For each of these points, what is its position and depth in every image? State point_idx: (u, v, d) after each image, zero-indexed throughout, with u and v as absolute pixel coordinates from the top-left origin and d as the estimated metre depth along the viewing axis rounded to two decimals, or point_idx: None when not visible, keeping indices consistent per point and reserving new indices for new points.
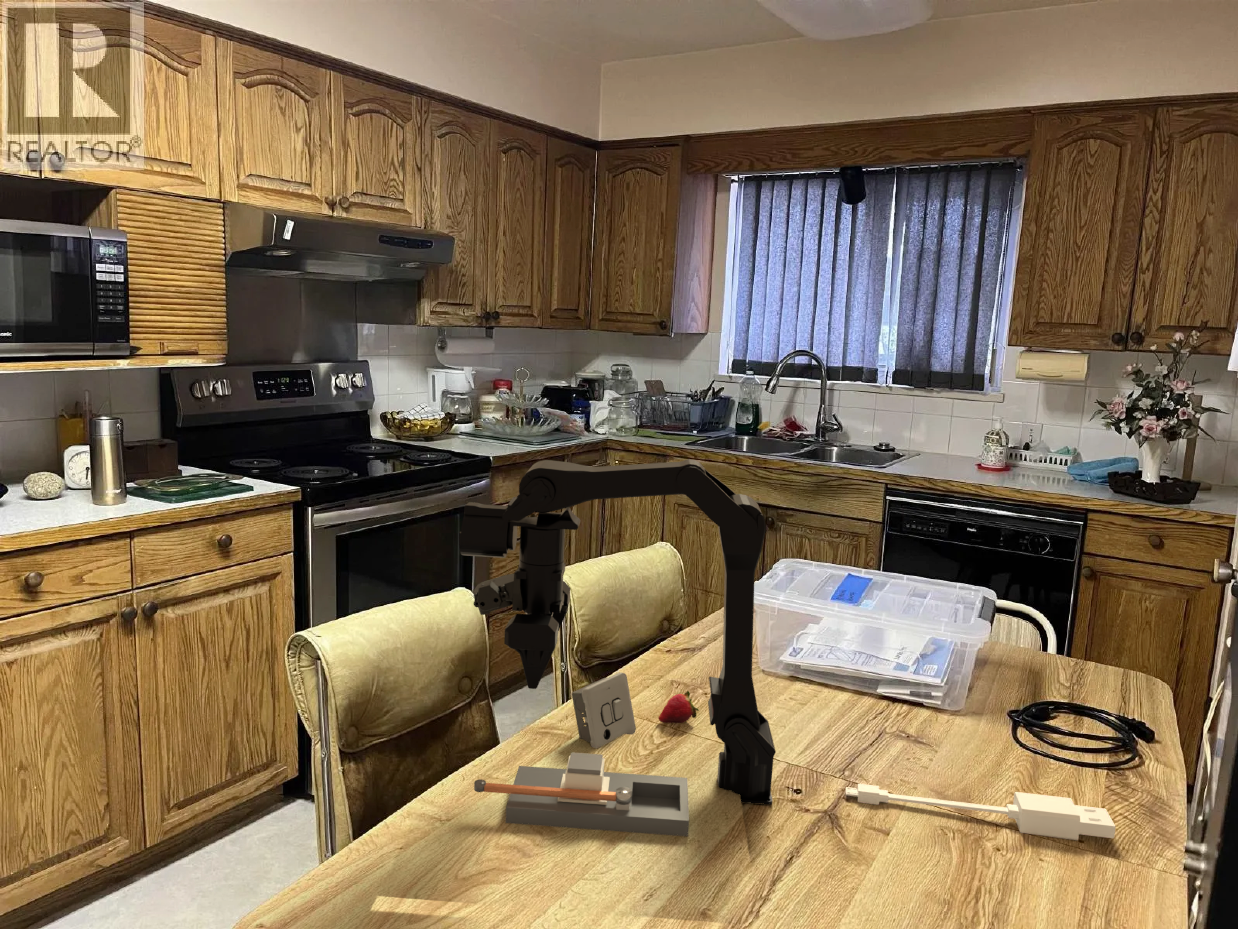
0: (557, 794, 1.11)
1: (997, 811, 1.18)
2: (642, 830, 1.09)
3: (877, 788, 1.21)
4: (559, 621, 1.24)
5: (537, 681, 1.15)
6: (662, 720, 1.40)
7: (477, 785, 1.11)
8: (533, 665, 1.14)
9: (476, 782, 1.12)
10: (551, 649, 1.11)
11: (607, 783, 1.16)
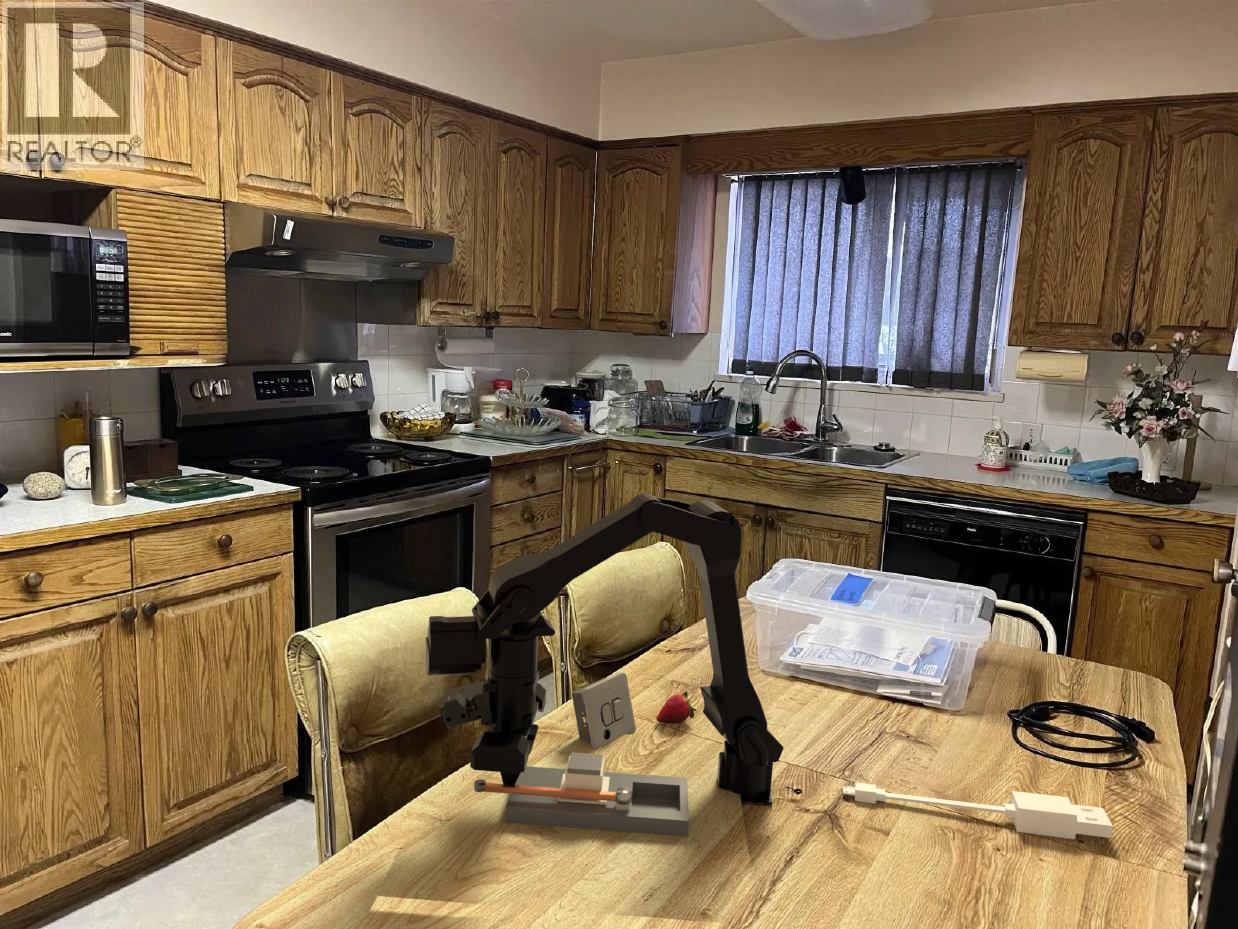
0: (557, 794, 1.11)
1: (994, 810, 1.18)
2: (642, 830, 1.09)
3: (874, 787, 1.22)
4: None
5: (513, 782, 1.12)
6: (660, 720, 1.39)
7: (477, 785, 1.11)
8: None
9: (476, 782, 1.12)
10: None
11: (607, 783, 1.16)
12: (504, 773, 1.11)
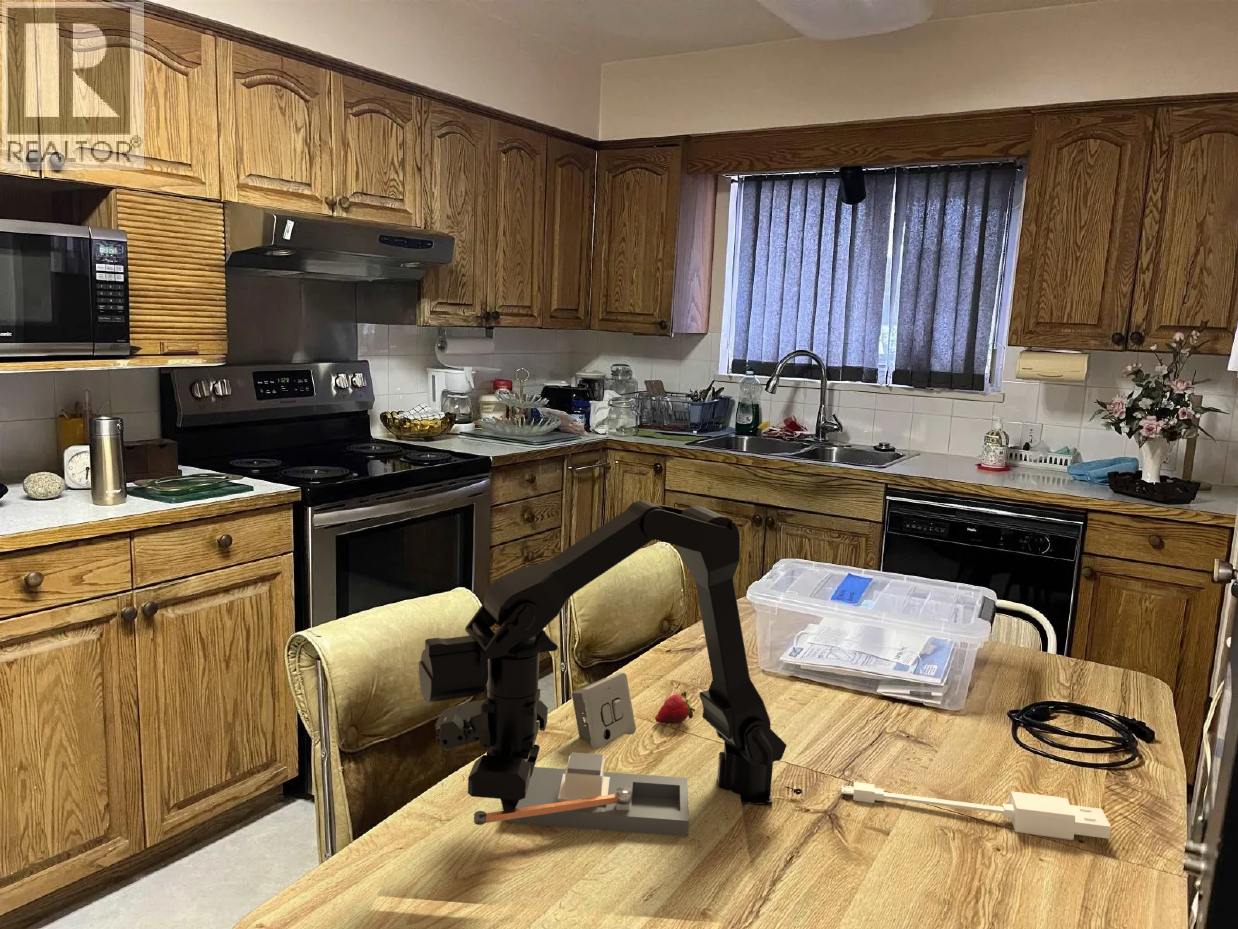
0: (560, 808, 1.08)
1: (992, 810, 1.18)
2: (642, 830, 1.09)
3: (873, 787, 1.22)
4: None
5: (513, 806, 1.07)
6: (659, 720, 1.39)
7: (479, 818, 1.04)
8: None
9: (476, 815, 1.05)
10: None
11: (607, 783, 1.16)
12: None
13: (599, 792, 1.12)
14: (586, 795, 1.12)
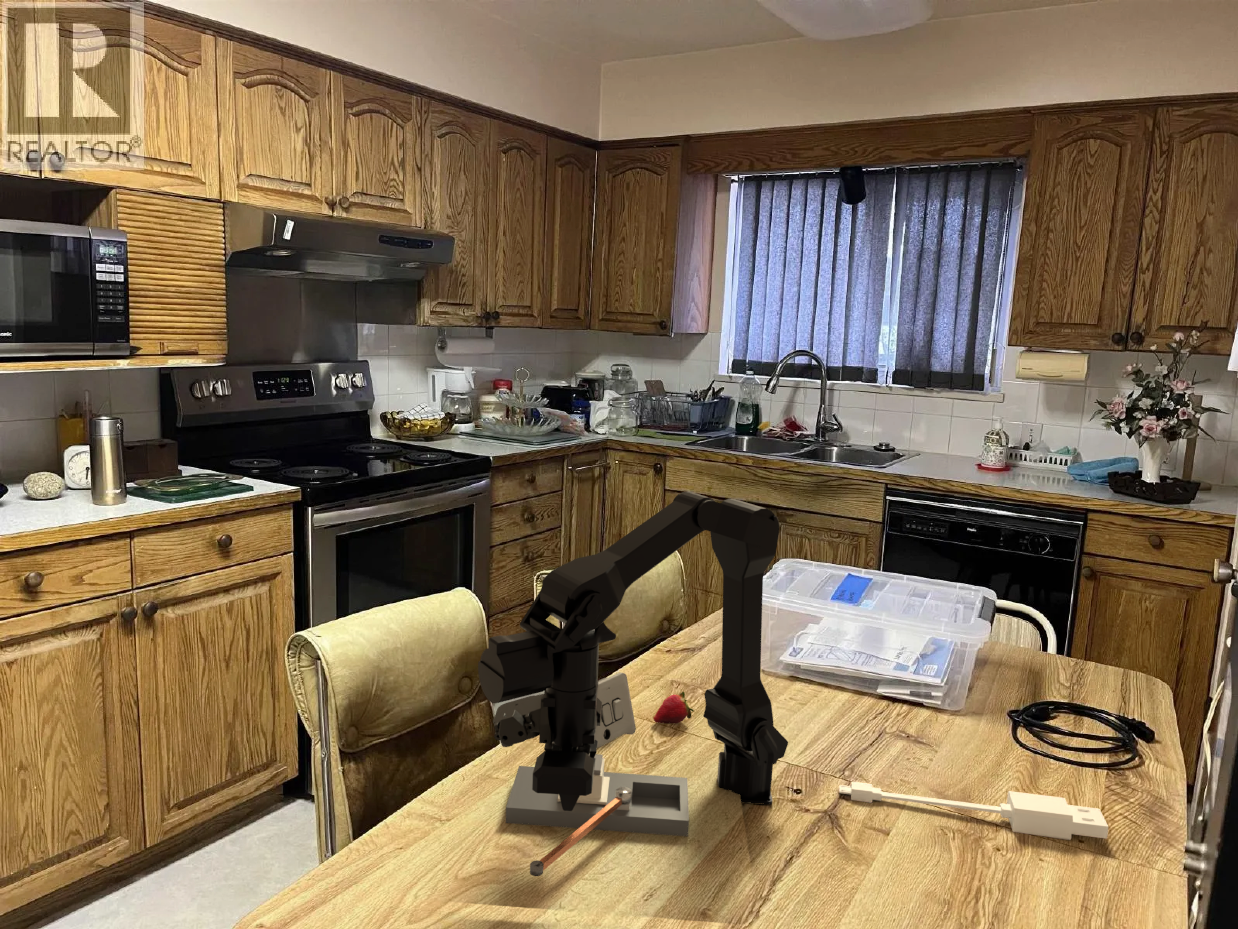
0: (589, 829, 1.04)
1: (990, 810, 1.18)
2: (642, 830, 1.09)
3: (870, 786, 1.22)
4: None
5: (573, 803, 1.04)
6: (657, 721, 1.39)
7: (540, 868, 0.96)
8: None
9: (534, 866, 0.96)
10: None
11: (607, 783, 1.16)
12: (563, 794, 1.03)
13: (599, 792, 1.12)
14: None
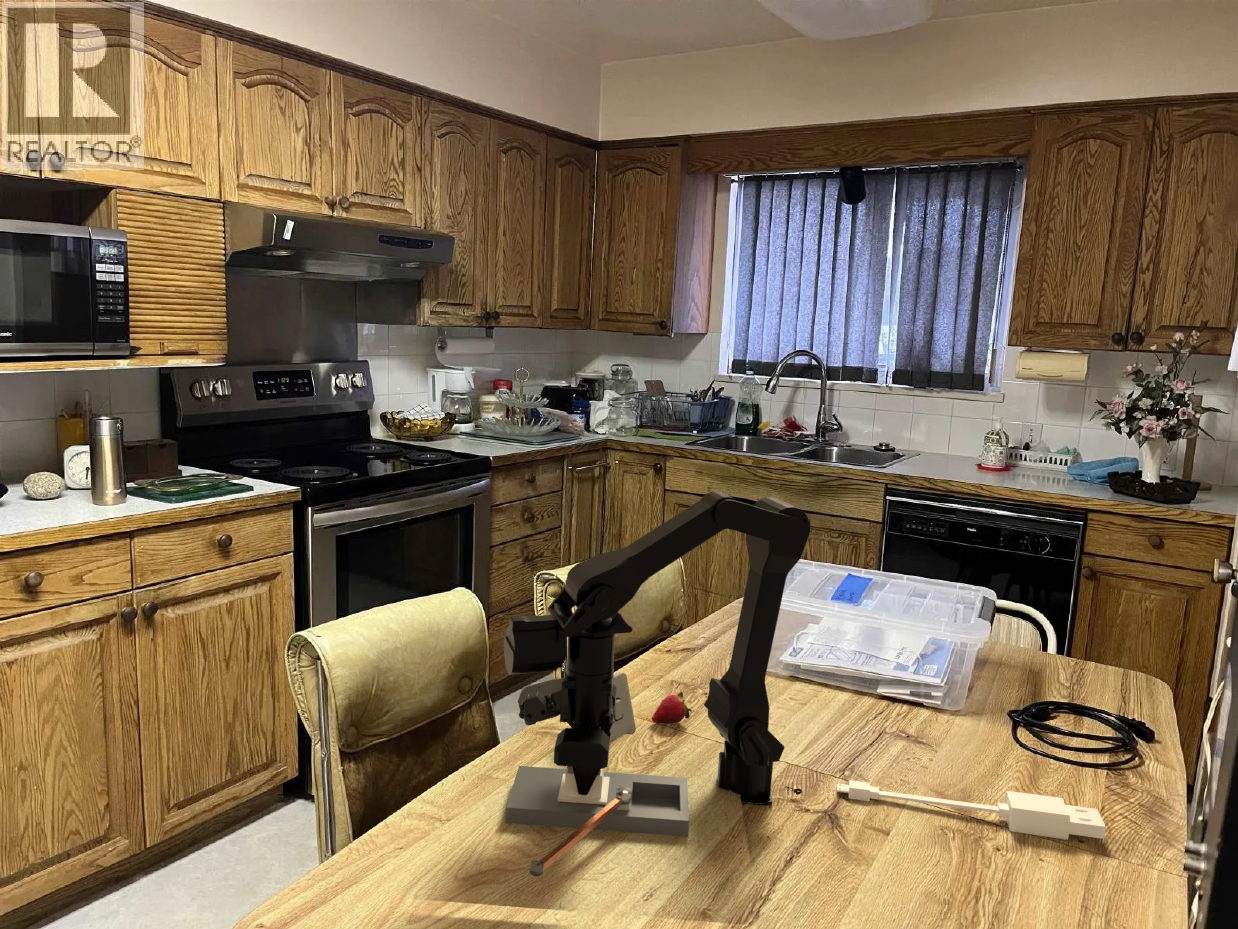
0: (589, 829, 1.04)
1: (987, 810, 1.18)
2: (642, 830, 1.09)
3: (868, 785, 1.22)
4: (604, 733, 1.16)
5: (588, 788, 1.11)
6: (655, 721, 1.39)
7: (540, 868, 0.96)
8: (584, 772, 1.10)
9: (534, 866, 0.96)
10: None
11: (607, 783, 1.16)
12: (579, 779, 1.10)
13: (599, 792, 1.12)
14: (586, 795, 1.12)
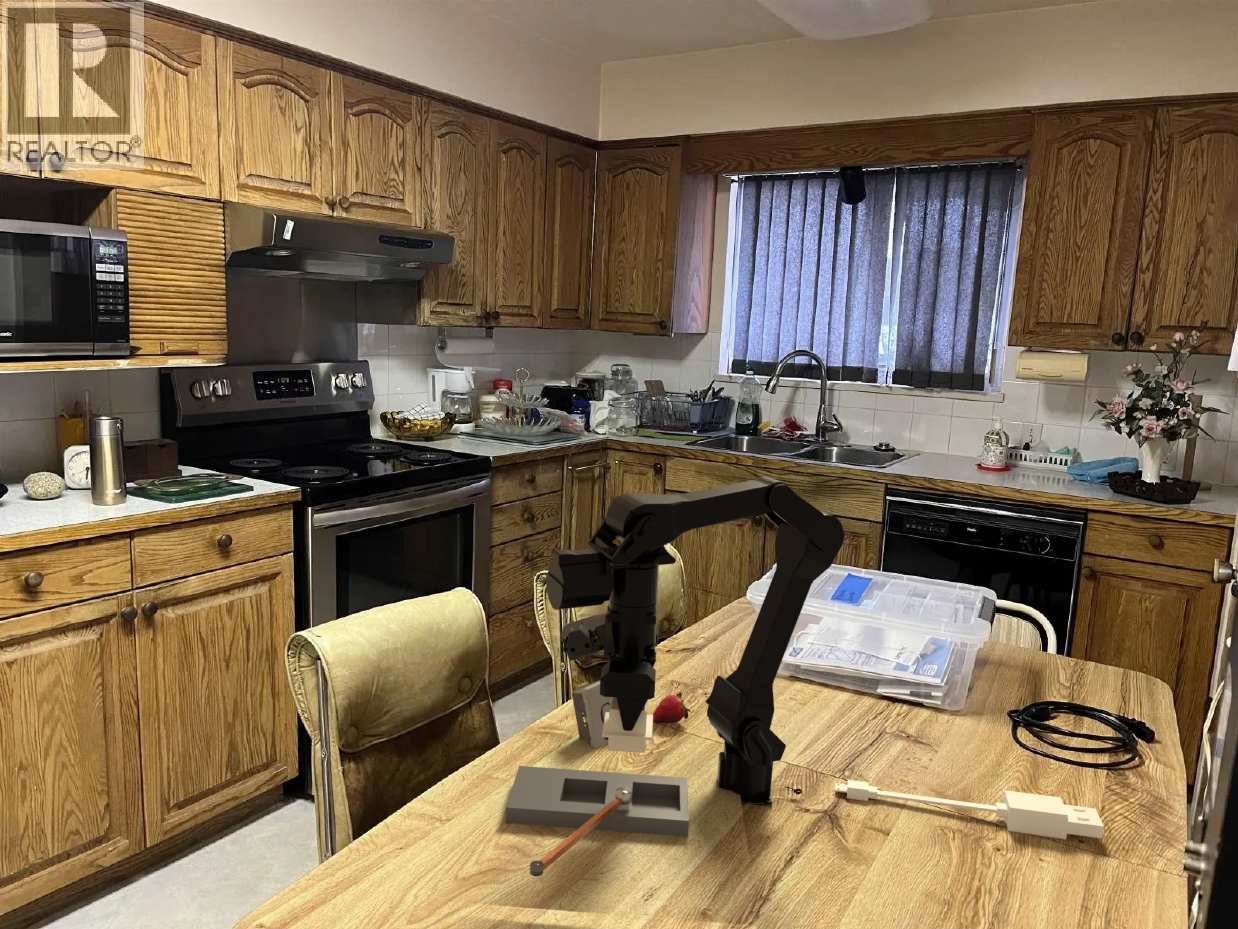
0: (589, 829, 1.04)
1: (986, 809, 1.18)
2: (642, 830, 1.09)
3: (866, 785, 1.22)
4: None
5: (633, 723, 1.09)
6: (654, 721, 1.39)
7: (540, 868, 0.96)
8: (629, 707, 1.08)
9: (534, 866, 0.96)
10: None
11: (651, 720, 1.14)
12: (624, 714, 1.09)
13: (644, 728, 1.10)
14: (630, 731, 1.10)
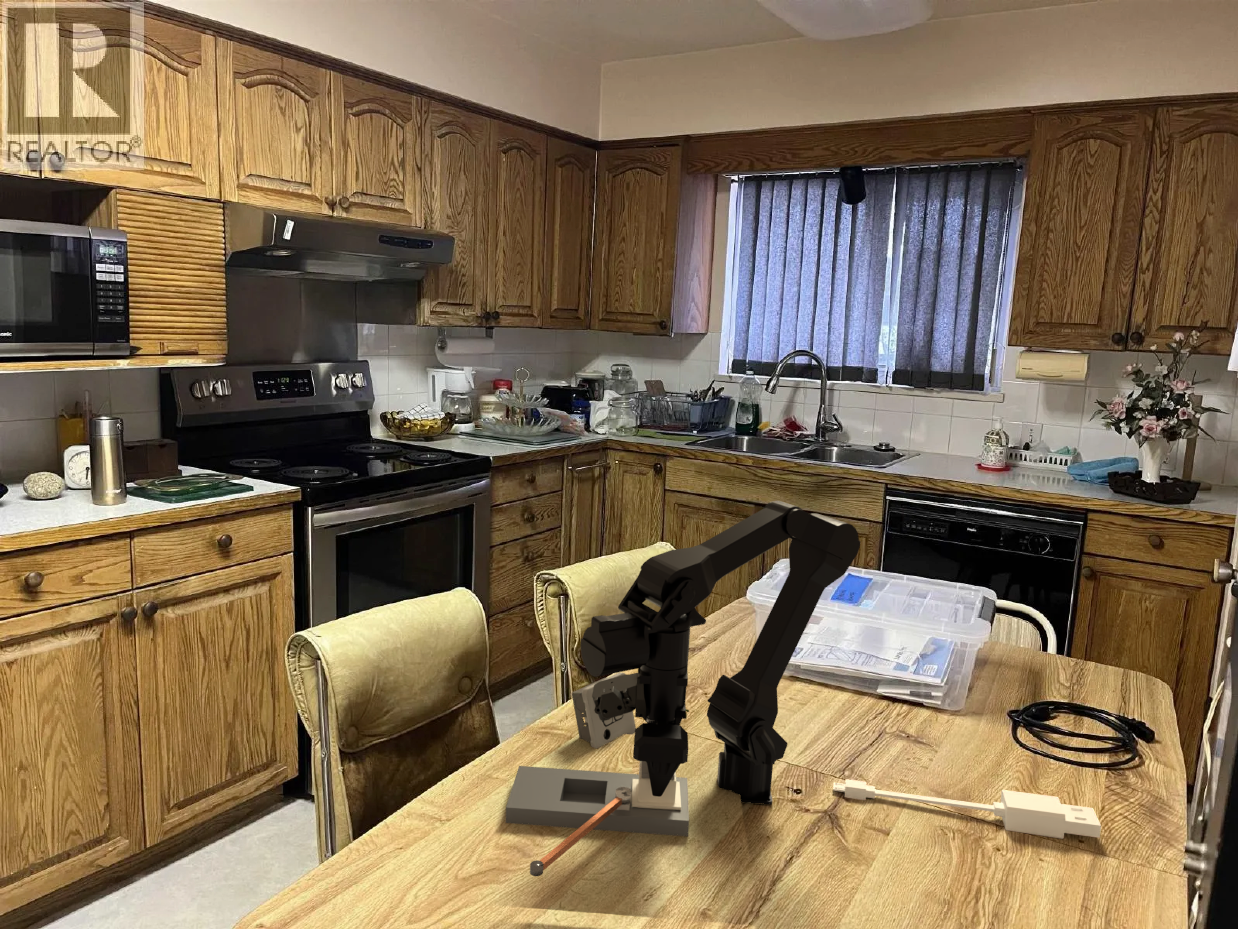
0: (589, 829, 1.04)
1: (983, 808, 1.18)
2: (642, 830, 1.09)
3: (864, 784, 1.22)
4: (676, 724, 1.17)
5: (663, 789, 1.09)
6: None
7: (540, 868, 0.96)
8: (659, 773, 1.08)
9: (534, 866, 0.96)
10: None
11: (678, 788, 1.15)
12: (654, 780, 1.09)
13: (673, 797, 1.12)
14: (660, 800, 1.12)
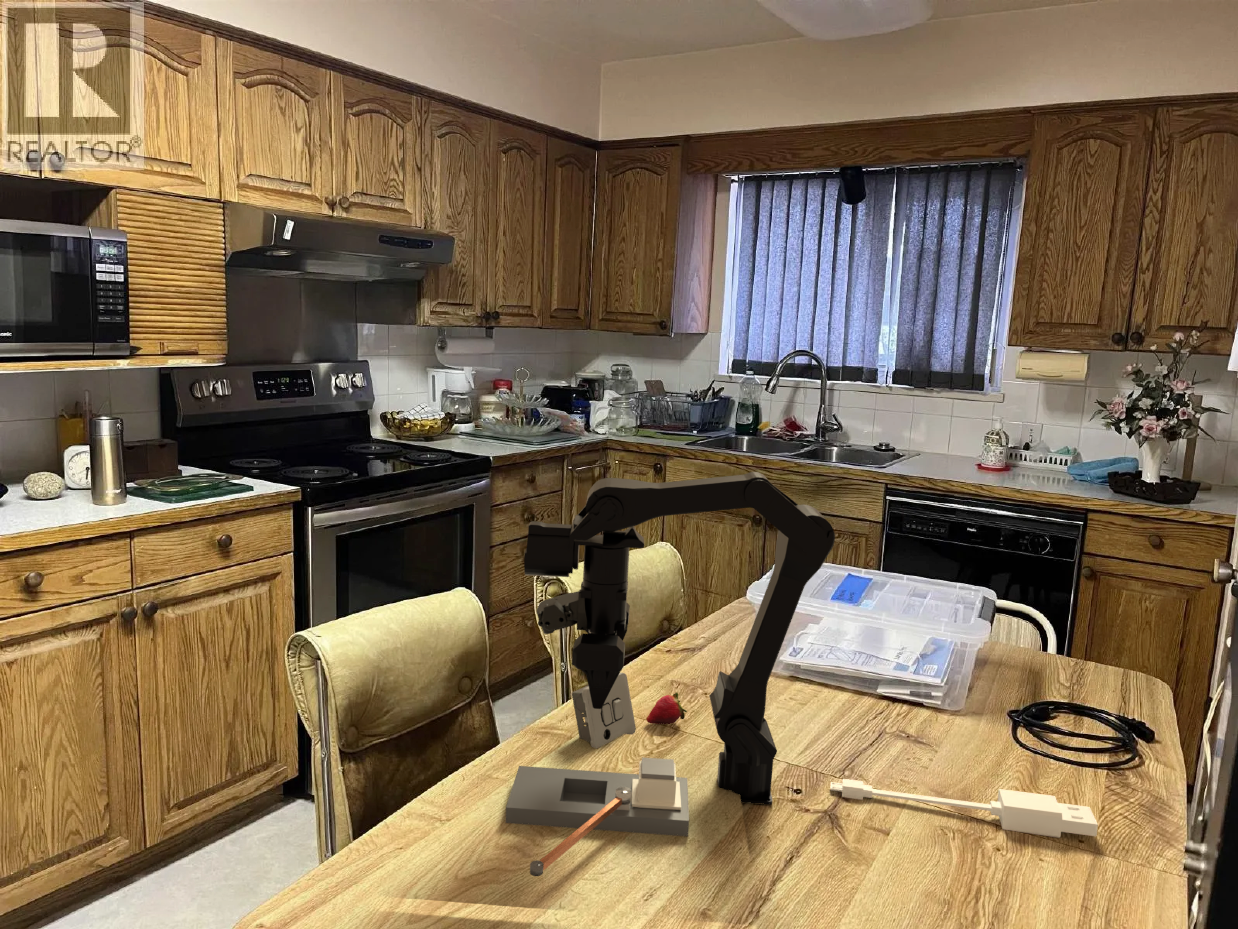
0: (589, 829, 1.04)
1: (980, 808, 1.18)
2: (642, 830, 1.09)
3: (861, 783, 1.23)
4: None
5: (602, 701, 1.14)
6: (650, 721, 1.39)
7: (540, 868, 0.96)
8: (599, 685, 1.13)
9: (534, 866, 0.96)
10: (619, 670, 1.10)
11: (678, 788, 1.15)
12: (593, 692, 1.14)
13: (673, 797, 1.12)
14: (660, 800, 1.12)
